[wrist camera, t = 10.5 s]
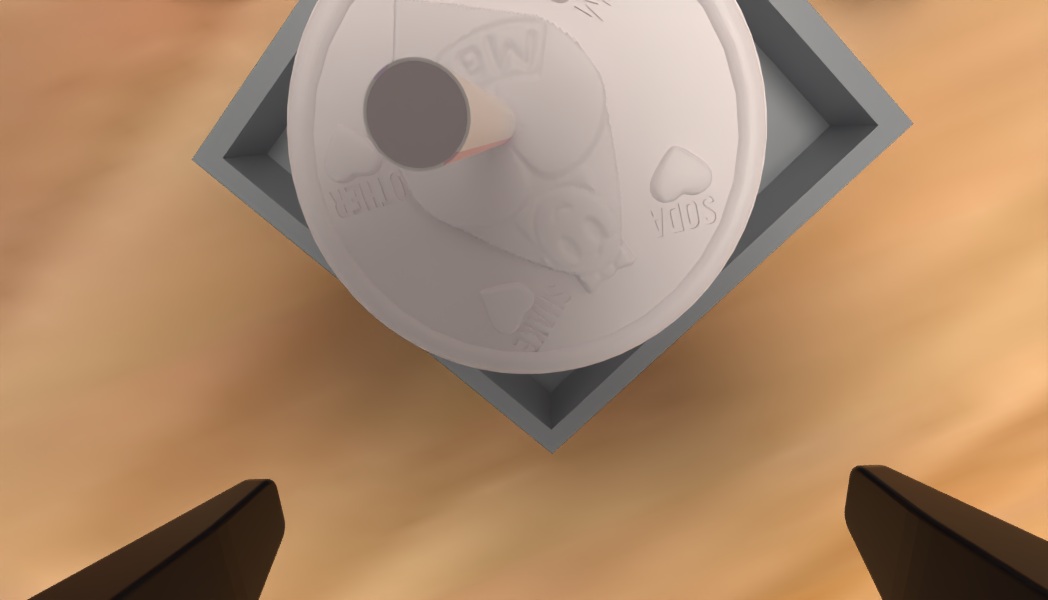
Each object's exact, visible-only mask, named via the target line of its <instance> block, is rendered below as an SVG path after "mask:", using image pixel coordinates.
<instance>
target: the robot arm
mask: <svg viewBox="0 0 1048 600" xmlns="http://www.w3.org/2000/svg"><path fill="white" fill-rule="evenodd" d="M845 520H846V524H847V527H848V529H849V532H850V534H851V536H852V538H853V540H854V542H855V544H856V546H857V548H858V550H859V552H860V554H861V556H862V558H863V561H864V563H865V565H866V567H867V569H868V571H869V573H870V575H871V577H872V579H873V581H874V583H875V585H876V587H877V590H878V592H879V594H880V596H881V598H882V600H1048V541H1046V540H1044V539H1042V538H1040V537H1037V536H1035V535H1033V534H1031V533H1029V532H1027V531H1024V530H1022V529H1020V528H1018V527H1016V526H1014V525H1012V524H1009V523H1007V522H1005V521H1003V520H1001V519H999V518H996V517H994V516H992V515H990V514H988V513H986V512H984V511H981V510H979V509H977V508H975V507H973V506H971V505H968V504H966V503H964V502H962V501H960V500H958V499H955V498H953V497H951V496H949V495H947V494H945V493H943V492H940V491H938V490H936V489H934V488H932V487H930V486H927V485H925V484H923V483H921V482H919V481H917V480H915V479H912V478H910V477H908V476H906V475H904V474H902V473H899V472H897V471H895V470H893V469H891V468H889V467H886V466H883V465H864V466H856V467H854V468H853V469H852V471H851V473H850V478H849V485H848V491H847V498H846V505H845ZM284 530H285V520H284V516H283V511H282V507H281V503H280V498H279V494H278V490H277V486H276V484H275V483H274V481H272V480H270V479H249V480H245V481H243V482H241V483H239V484H237V485H235V486H234V487H232V488H230V489H228V490H226V491H225V492H223V493H221V494H219V495H217V496H215V497H214V498H212V499H210V500H208V501H206V502H204V503H203V504H201V505H199V506H197V507H195V508H194V509H192V510H190V511H188V512H186V513H184V514H183V515H181V516H179V517H177V518H175V519H174V520H172V521H170V522H168V523H166V524H164V525H163V526H161V527H159V528H157V529H155V530H153V531H152V532H150V533H148V534H146V535H144V536H143V537H141V538H139V539H137V540H135V541H133V542H132V543H130V544H128V545H126V546H124V547H122V548H121V549H119V550H117V551H115V552H113V553H112V554H110V555H108V556H106V557H104V558H102V559H101V560H99V561H97V562H95V563H93V564H92V565H90V566H88V567H86V568H84V569H82V570H81V571H79V572H77V573H75V574H73V575H71V576H70V577H68V578H66V579H64V580H62V581H61V582H59V583H57V584H55V585H53V586H51V587H50V588H48V589H46V590H44V591H42V592H40V593H39V594H37V595H35V596H33V597H31V598H30V599H28V600H259V597H260V595H261V592H262V590H263V587H264V585H265V582H266V580H267V577H268V574H269V572H270V569H271V567H272V564H273V562H274V559H275V557H276V554H277V551H278V549H279V546H280V544H281V541H282V538H283V535H284Z"/></svg>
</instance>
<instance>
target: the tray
mask: <svg viewBox="0 0 1048 600" xmlns="http://www.w3.org/2000/svg"><path fill="white" fill-rule="evenodd" d="M317 1H318V0H299V2H298V3H297V5H296V6H295V8H294V9H293V11H292V12H291V14H290V15H289V17H288V18H287V20H286V21H285V22H284V24H283V25H282V27H281V28H280V30H279V31H278V33H277V34H276V36H275V37H274V39H273V40H272V42H271V43H270V45H269V46H268V48H267V49H266V51H265V52H264V54H263V55H262V57H261V58H260V60H259V61H258V62H257V64H256V65H255V67H254V68H253V70H252V71H251V73H250V74H249V76H248V77H247V79H246V80H245V82H244V83H243V85H242V86H241V88H240V89H239V91H238V92H237V94H236V95H235V97H234V98H233V99H232V101H231V102H230V104H229V105H228V107H227V108H226V110H225V111H224V113H223V114H222V116H221V117H220V119H219V120H218V122H217V123H216V125H215V126H214V128H213V129H212V131H211V132H210V134H209V135H208V137H207V138H206V139H205V141H204V142H203V144H202V145H201V147H200V148H199V150H198V151H197V153H196V154H195V156H194V157H193V159H192V160H193V161H194V162H195V163H196V164H198V165H199V166H200V167H201V168H203V169H204V170H205V171H206V172H207V173H209V174H210V175H211V176H212V177H214V178H215V179H216V180H217V181H219V182H220V183H221V184H222V185H223V186H225V187H226V188H227V189H228V190H230V191H231V192H232V193H233V194H234V195H236V196H237V197H238V198H239V199H241V200H242V201H243V202H244V203H245V204H247V205H248V206H249V207H250V208H252V209H253V210H254V211H255V212H256V213H258V214H259V215H260V216H261V217H263V218H264V219H265V220H266V221H268V222H269V223H270V224H271V225H272V226H274V227H275V228H276V229H277V230H279V231H280V232H281V233H282V234H283V235H285V236H286V237H287V238H288V239H290V240H291V241H292V242H293V243H294V244H296V245H297V246H298V247H299V248H301V249H302V250H303V251H304V252H306V253H307V254H308V255H309V256H310V257H312V258H313V259H314V260H315V261H317V262H318V263H319V264H320V265H321V266H323V267H324V268H325V269H326V270H328V271H329V272H330V273H331V274H332V275H334V276H335V277H336V278H337V279H338V277H337V276H336V274H335V273H334V272H333V270H332V269H331V267H330V266H329V264H328V263H327V261H326V260H325V258H324V256H323V254H322V253H321V251H320V249H319V248H318V246H317V244H316V242H315V240H314V238H313V236H312V234H311V231H310V229H309V227H308V225H307V223H306V220H305V217H304V215H303V212H302V209H301V206H300V204H299V201H298V197H297V193H296V189H295V186H294V182H293V178H292V172H291V166H290V160H289V153H288V139H287V104H288V96H289V87H290V80H291V75H292V70H293V65H294V61H295V56H296V53H297V50H298V47H299V44H300V40H301V37H302V34H303V31H304V29H305V27H306V24H307V22H308V20H309V17H310V15H311V13H312V10H313V8H314V7H315V5H316V3H317ZM736 2H737V3H738V5H739V7H740V9H741V11H742V13H743V16H744V18H745V20H746V23H747V25H748V27H749V30H750V32H751V34H752V38H753V41H754V44H755V47H756V51H757V54H758V57H759V61H760V66H761V71H762V76H763V81H764V87H765V97H766V107H767V140H766V150H765V161H764V166H763V171H762V176H761V182H760V186H759V190H758V193H757V196H756V200H755V203H754V207H753V210H752V212H751V215H750V217H749V220H748V222H747V225H746V227H745V230H744V232H743V234H742V236H741V238H740V240H739V242H738V244H737V246H736V248H735V250H734V251H733V253H732V255H731V256H730V258H729V259H728V261H727V263H726V264H725V266H724V267H723V269H722V271H721V272H720V273H719V275H718V276H717V277H716V278H715V280H714V281H713V282H712V284H711V285H710V286H709V288H708V289H707V290H706V291H705V292H704V293H703V294H702V295H701V297H700V298H699V299H698V300H697V301H696V302H695V303H694V304H693V305H692V306H691V307H690V308H689V309H688V310H687V311H686V312H684V313H683V314H682V315H681V316H680V317H679V318H678V319H677V320H675V321H674V322H673V323H672V324H670V325H669V326H668V327H666V328H665V329H664V330H662V331H661V332H660V333H658V334H657V335H655V336H653V337H652V338H650V339H648V340H647V341H645V342H644V343H642V344H640V345H638V346H636V347H634V348H632V349H630V350H628V351H626V352H624V353H622V354H620V355H618V356H615V357H613V358H610V359H607V360H605V361H602V362H599V363H596V364H592V365H589V366H586V367H582V368H577V369H572V370H567V371H562V372H553V373H543V374H513V373H500V372H493V371H487V370H481V369H477V368H473V367H469V366H465V365H461V364H458V363H455V362H452V361H450V360H447V359H444V358H441V357H439V356H436V355H434V354H432V353H430V352H428V351H427V352H428V353H429V354H430V355H432V356H433V357H434V358H435V359H437V360H438V361H439V362H440V363H442V364H443V365H444V366H445V367H446V368H448V369H449V370H450V371H451V372H453V373H454V374H455V375H456V376H457V377H459V378H460V379H461V380H462V381H464V382H465V383H466V384H467V385H468V386H470V387H471V388H472V389H473V390H475V391H476V392H477V393H478V394H480V395H481V396H482V397H483V398H484V399H486V400H487V401H488V402H489V403H491V404H492V405H493V406H494V407H495V408H497V409H498V410H499V411H500V412H502V413H503V414H504V415H505V416H506V417H508V418H509V419H510V420H511V421H513V422H514V423H515V424H516V425H518V426H519V427H520V428H521V429H522V430H524V431H525V432H526V433H527V434H529V435H530V436H531V437H532V438H533V439H535V440H536V441H537V442H538V443H540V444H541V445H542V446H543V447H544V448H546V449H547V450H548V451H549V452H551V453H552V454H553V453H554V452H555V451H556V450H557V449H558V448H559V447H560V446H561V445H562V444H563V443H565V442H566V441H567V440H568V439H569V438H570V437H571V436H572V435H573V434H574V433H575V432H577V431H578V430H579V429H580V428H581V427H582V426H583V425H584V424H585V423H586V422H588V421H589V420H590V419H591V418H592V417H593V416H594V415H595V414H596V413H597V412H598V411H600V410H601V409H602V408H603V407H604V406H605V405H606V404H607V403H608V402H609V401H611V400H612V399H613V398H614V397H615V396H616V395H617V394H618V393H619V392H620V391H621V390H623V389H624V388H625V387H626V386H627V385H628V384H629V383H630V382H631V381H632V380H634V379H635V378H636V377H637V376H638V375H639V374H640V373H641V372H642V371H643V370H644V369H646V368H647V367H648V366H649V365H650V364H651V363H652V362H653V361H654V360H655V359H656V358H658V357H659V356H660V355H661V354H662V353H663V352H664V351H665V350H666V349H667V348H669V347H670V346H671V345H672V344H673V343H674V342H675V341H676V340H677V339H678V338H679V337H681V336H682V335H683V334H684V333H685V332H686V331H687V330H688V329H689V328H690V327H692V326H693V325H694V324H695V323H696V322H697V321H698V320H699V319H700V318H701V317H702V316H704V315H705V314H706V313H707V312H708V311H709V310H710V309H711V308H712V307H713V306H715V305H716V304H717V303H718V302H719V301H720V300H721V299H722V298H723V297H724V296H725V295H727V294H728V293H729V292H730V291H731V290H732V289H733V288H734V287H735V286H736V285H737V284H739V283H740V282H741V281H742V280H743V279H744V278H745V277H746V276H747V275H748V274H750V273H751V272H752V271H753V270H754V269H755V268H756V267H757V266H758V265H759V264H760V263H762V262H763V261H764V260H765V259H766V258H767V257H768V256H769V255H770V254H771V253H773V252H774V251H775V250H776V249H777V248H778V247H779V246H780V245H781V244H782V243H783V242H785V241H786V240H787V239H788V238H789V237H790V236H791V235H792V234H793V233H794V232H796V231H797V230H798V229H799V228H800V227H801V226H802V225H803V224H804V223H805V222H806V221H808V220H809V219H810V218H811V217H812V216H813V215H814V214H815V213H816V212H817V211H818V210H820V209H821V208H822V207H823V206H824V205H825V204H826V203H827V202H828V201H829V200H831V199H832V198H833V197H834V196H835V195H836V194H837V193H838V192H839V191H840V190H841V189H843V188H844V187H845V186H846V185H847V184H848V183H849V182H850V181H851V180H852V179H854V178H855V177H856V176H857V175H858V174H859V173H860V172H861V171H862V170H863V169H864V168H866V167H867V166H868V165H869V164H870V163H871V162H872V161H873V160H874V159H875V158H877V157H878V156H879V155H880V154H881V153H882V152H883V151H884V150H885V149H886V148H887V147H889V146H890V145H891V144H892V143H893V142H894V141H895V140H896V139H897V138H898V137H899V136H901V135H902V134H903V133H904V132H905V131H906V130H907V129H908V128H909V127H910V126H912V125H913V124H914V123H913V122H912V121H911V120H910V119H909V118H908V117H907V115H906V114H905V113H904V112H903V111H902V110H901V108H900V107H899V106H898V105H897V104H896V103H895V101H894V100H893V99H892V98H891V97H890V96H889V95H888V93H887V92H886V91H885V90H884V89H883V88H882V86H881V85H880V84H879V83H878V82H877V81H876V79H875V78H874V77H873V76H872V75H871V74H870V73H869V71H868V70H867V69H866V68H865V67H864V66H863V64H862V63H861V62H860V61H859V60H858V59H857V57H856V56H855V55H854V54H853V53H852V52H851V51H850V49H849V48H848V47H847V46H846V45H845V44H844V42H843V41H842V40H841V39H840V38H839V37H838V35H837V34H836V33H835V32H834V31H833V30H832V28H831V27H830V26H829V25H828V24H827V23H826V22H825V20H824V19H823V18H822V17H821V16H820V15H819V13H818V12H817V11H816V10H815V9H814V8H813V6H812V5H811V4H810V3H809V2H808V1H807V0H736Z"/></svg>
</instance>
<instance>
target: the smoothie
mask: <svg viewBox="0 0 1048 600" xmlns="http://www.w3.org/2000/svg"><path fill="white" fill-rule="evenodd" d="M287 139H288V153H289V160H290V166H291V172H292V178H293V182H294V186H295V189H296V193H297V197H298V201H299V204H300V206H301V209H302V212H303V215H304V217H305V220H306V223H307V225H308V227H309V229H310V231H311V234H312V236H313V238H314V240H315V242H316V244H317V246H318V248H319V249H320V251H321V253H322V254H323V256H324V258H325V260H326V261H327V263H328V264H329V266H330V267H331V269H332V270H333V272H334V273H335V274H336V276H337V277H338V279H339V280H340V281H341V283H342V284H343V285H344V286H345V287H346V288H347V290H348V291H349V292H350V293H351V294H352V296H353V297H354V298H355V299H356V300H357V301H358V302H359V303H360V304H361V305H362V306H363V307H364V308H365V309H366V310H367V311H368V312H369V313H370V314H372V315H373V316H374V317H375V318H376V319H378V320H379V321H380V322H381V323H382V324H384V325H385V326H386V327H388V328H389V329H390V330H392V331H393V332H395V333H396V334H398V335H399V336H401V337H402V338H404V339H405V340H407V341H409V342H411V343H412V344H414V345H416V346H418V347H419V348H421V349H423V350H426V351H428V352H430V353H432V354H434V355H436V356H439V357H441V358H444V359H447V360H450V361H452V362H455V363H458V364H461V365H465V366H469V367H473V368H477V369H481V370H487V371H493V372H500V373H513V374H543V373H553V372H562V371H567V370H572V369H577V368H582V367H586V366H589V365H592V364H596V363H599V362H602V361H605V360H607V359H610V358H613V357H615V356H618V355H620V354H622V353H624V352H626V351H628V350H630V349H632V348H634V347H636V346H638V345H640V344H642V343H644V342H645V341H647V340H648V339H650V338H652V337H653V336H655V335H657V334H658V333H660V332H661V331H662V330H664V329H665V328H666V327H668V326H669V325H670V324H672V323H673V322H674V321H675V320H677V319H678V318H679V317H680V316H681V315H682V314H683V313H684V312H686V311H687V310H688V309H689V308H690V307H691V306H692V305H693V304H694V303H695V302H696V301H697V300H698V299H699V298H700V297H701V295H702V294H703V293H704V292H705V291H706V290H707V289H708V288H709V286H710V285H711V284H712V282H713V281H714V280H715V278H716V277H717V276H718V275H719V273H720V272H721V271H722V269H723V267H724V266H725V264H726V263H727V261H728V259H729V258H730V256H731V255H732V253H733V251H734V250H735V248H736V246H737V244H738V242H739V240H740V238H741V236H742V234H743V232H744V230H745V227H746V225H747V222H748V220H749V217H750V215H751V212H752V210H753V207H754V203H755V200H756V196H757V193H758V190H759V186H760V182H761V176H762V171H763V166H764V161H765V150H766V140H767V107H766V97H765V87H764V81H763V76H762V71H761V66H760V61H759V57H758V54H757V51H756V47H755V44H754V41H753V38H752V34H751V32H750V30H749V27H748V25H747V23H746V20H745V18H744V16H743V13H742V11H741V9H740V7H739V5H738V3H737V2H736V0H318V1H317V3H316V5H315V7H314V8H313V10H312V13H311V15H310V17H309V20H308V22H307V24H306V27H305V29H304V31H303V34H302V37H301V40H300V44H299V47H298V50H297V53H296V56H295V61H294V65H293V70H292V75H291V80H290V87H289V96H288V104H287Z"/></svg>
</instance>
